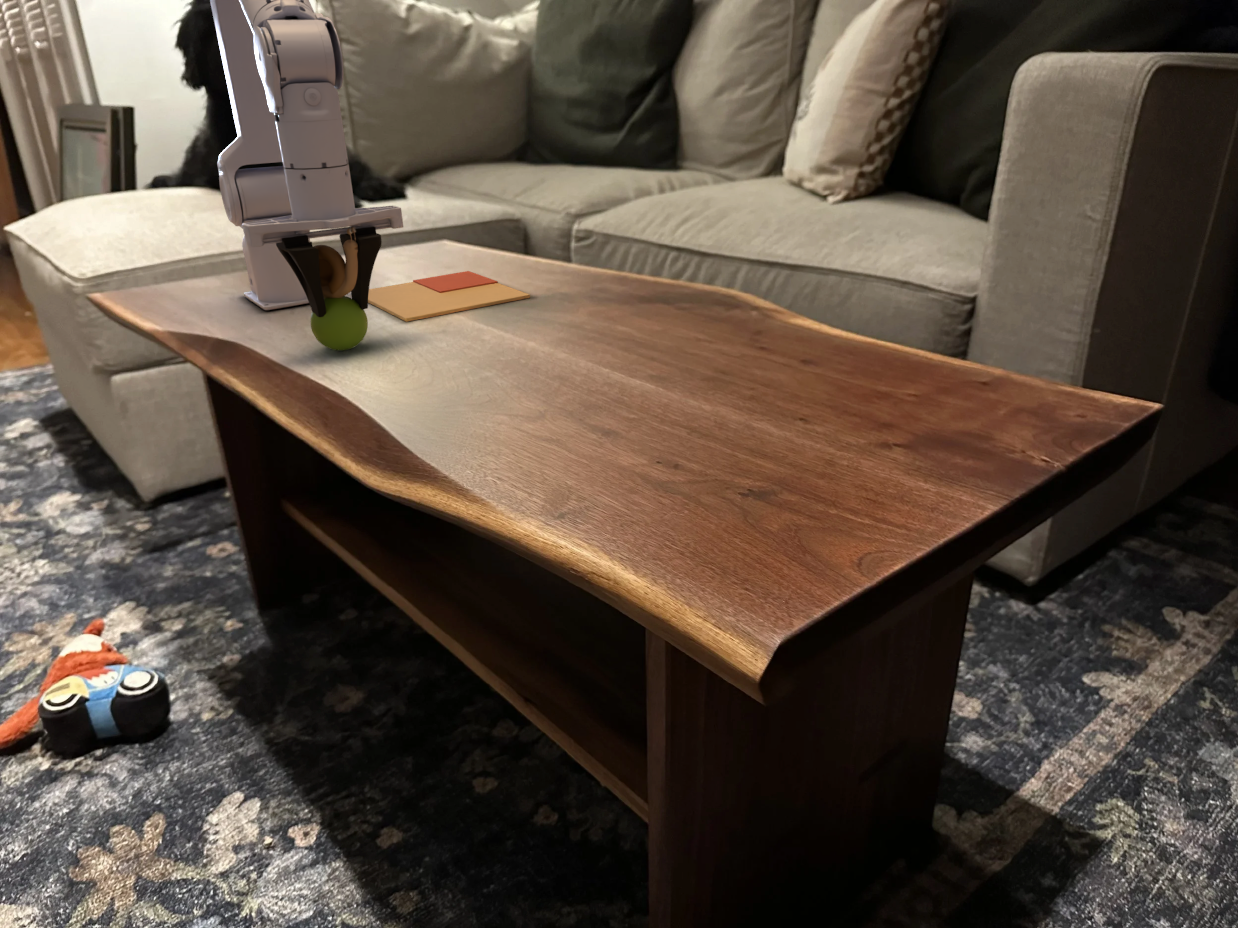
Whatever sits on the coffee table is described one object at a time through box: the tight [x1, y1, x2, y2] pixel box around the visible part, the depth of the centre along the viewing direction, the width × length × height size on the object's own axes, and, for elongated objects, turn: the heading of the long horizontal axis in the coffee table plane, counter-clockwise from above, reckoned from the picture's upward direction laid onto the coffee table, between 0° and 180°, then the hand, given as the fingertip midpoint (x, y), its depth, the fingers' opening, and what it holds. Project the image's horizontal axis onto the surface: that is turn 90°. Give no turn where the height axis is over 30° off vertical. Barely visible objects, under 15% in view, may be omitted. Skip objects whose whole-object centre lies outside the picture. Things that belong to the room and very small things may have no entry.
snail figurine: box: [309, 227, 369, 352], centre depth 85 cm, size 5×6×12 cm
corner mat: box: [368, 270, 531, 322], centre depth 106 cm, size 16×16×1 cm
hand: (340, 311), depth 86 cm, fingers closed on snail figurine, 3 cm apart
